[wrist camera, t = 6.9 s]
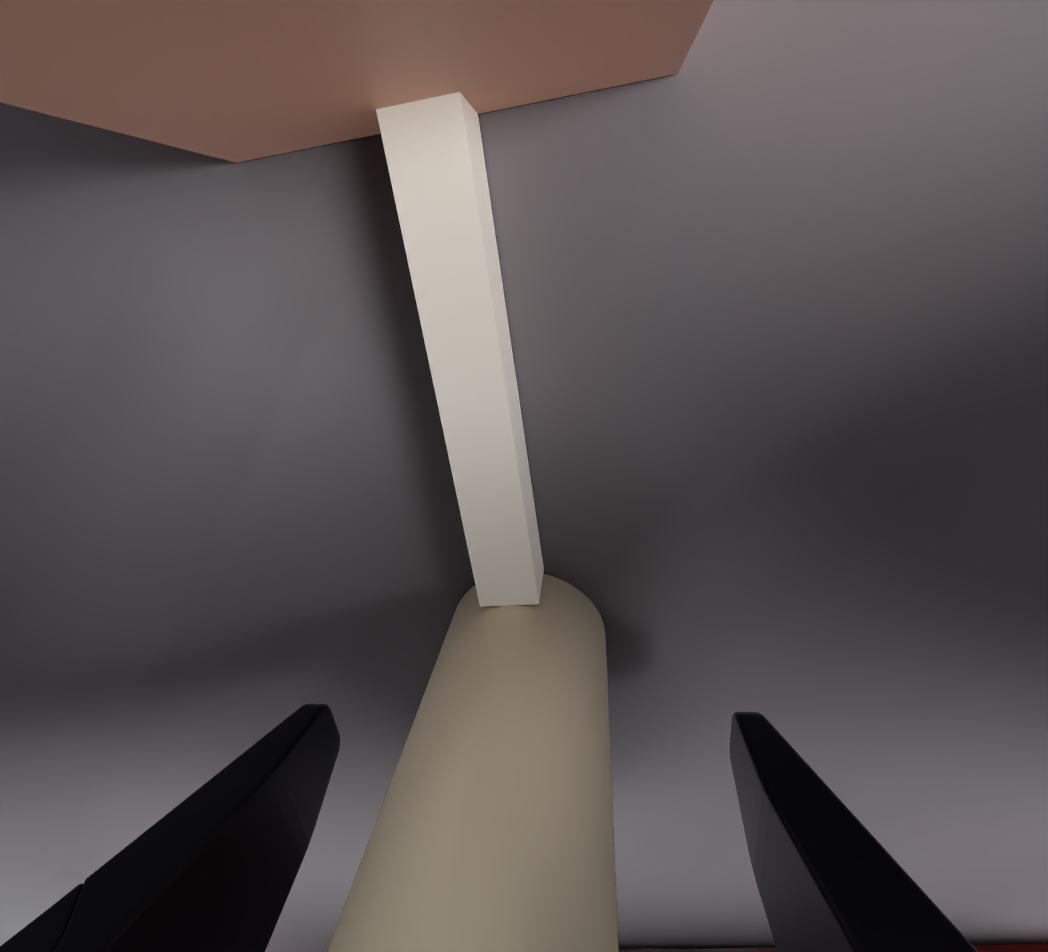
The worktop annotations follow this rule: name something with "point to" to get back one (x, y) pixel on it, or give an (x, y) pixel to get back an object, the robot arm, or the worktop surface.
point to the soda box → (982, 950)
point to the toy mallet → (460, 386)
